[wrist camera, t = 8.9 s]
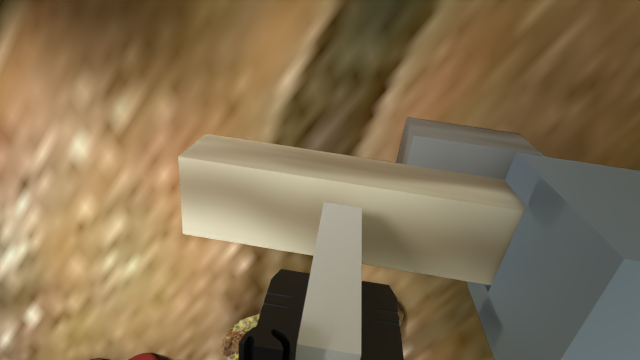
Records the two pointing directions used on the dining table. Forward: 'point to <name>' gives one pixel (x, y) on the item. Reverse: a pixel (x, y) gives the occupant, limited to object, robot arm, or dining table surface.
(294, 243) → the beam
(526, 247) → the grey block
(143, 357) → the toy fire truck
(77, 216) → the dining table surface
